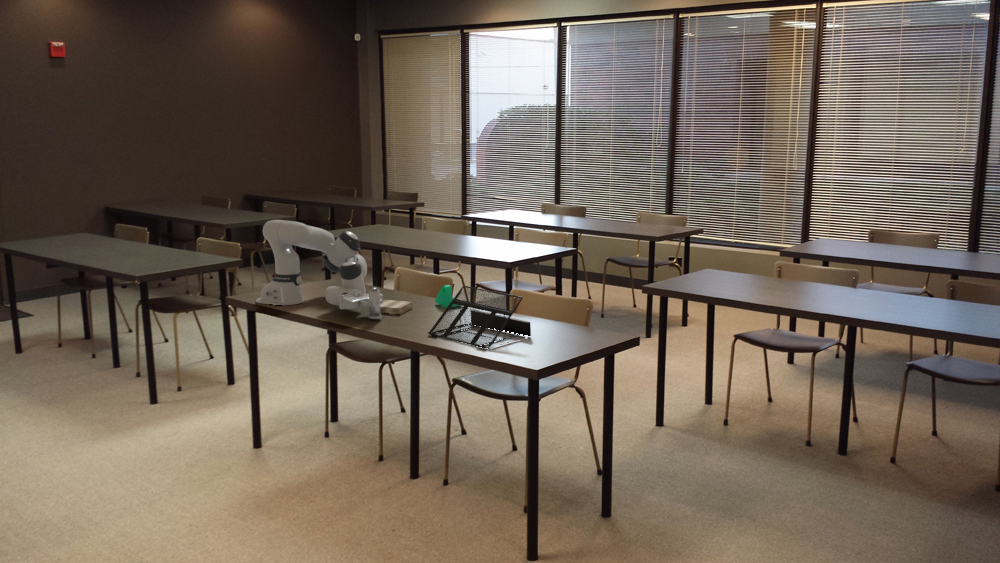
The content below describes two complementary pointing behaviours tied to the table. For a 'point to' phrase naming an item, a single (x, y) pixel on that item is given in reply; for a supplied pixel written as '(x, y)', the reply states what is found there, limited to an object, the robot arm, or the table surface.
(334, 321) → the table surface
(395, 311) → the wooden stand
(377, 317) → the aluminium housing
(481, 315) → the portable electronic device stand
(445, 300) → the green toy figure
